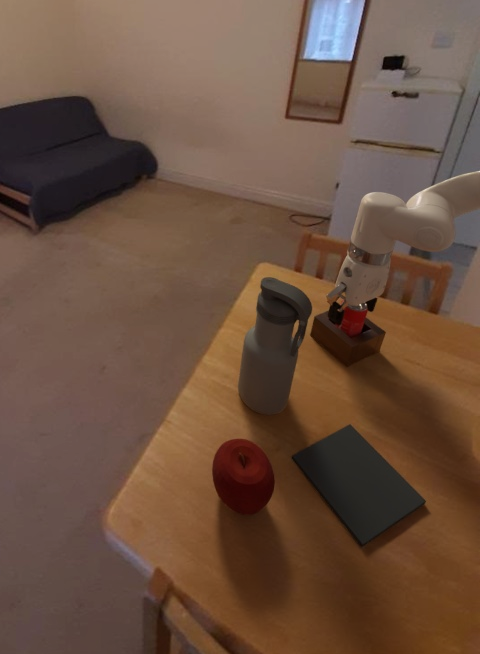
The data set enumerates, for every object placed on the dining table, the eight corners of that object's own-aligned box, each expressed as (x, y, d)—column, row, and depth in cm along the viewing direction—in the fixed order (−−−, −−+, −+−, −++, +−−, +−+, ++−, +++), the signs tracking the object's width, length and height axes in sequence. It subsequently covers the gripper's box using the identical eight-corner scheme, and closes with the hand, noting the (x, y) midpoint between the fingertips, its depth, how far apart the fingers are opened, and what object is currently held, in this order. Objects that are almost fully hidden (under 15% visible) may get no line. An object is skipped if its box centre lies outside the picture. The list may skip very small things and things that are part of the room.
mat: (349, 427, 76) (350, 423, 75) (424, 504, 64) (426, 501, 64) (291, 458, 71) (292, 455, 71) (361, 548, 60) (362, 544, 59)
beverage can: (334, 350, 92) (345, 309, 87) (329, 333, 97) (339, 294, 91) (359, 353, 91) (371, 313, 86) (353, 336, 95) (364, 297, 90)
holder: (341, 321, 100) (346, 303, 97) (379, 351, 91) (386, 332, 89) (310, 335, 96) (314, 316, 94) (346, 367, 88) (352, 347, 85)
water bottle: (296, 391, 83) (321, 284, 71) (279, 428, 76) (303, 316, 64) (249, 366, 89) (264, 263, 76) (229, 398, 82) (242, 290, 70)
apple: (279, 492, 67) (288, 456, 62) (252, 545, 60) (259, 509, 56) (228, 453, 73) (233, 417, 68) (198, 497, 66) (201, 461, 62)
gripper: (354, 272, 76) (335, 338, 84) (416, 250, 82) (392, 313, 90) (322, 251, 83) (307, 314, 90) (381, 232, 88) (363, 293, 96)
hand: (350, 314), depth 90 cm, fingers open, 9 cm apart
